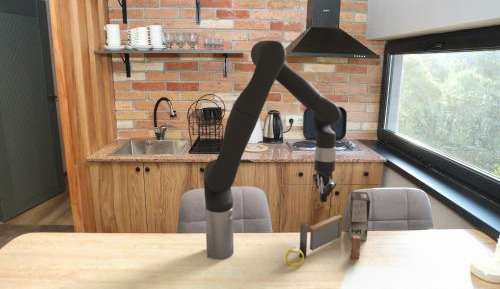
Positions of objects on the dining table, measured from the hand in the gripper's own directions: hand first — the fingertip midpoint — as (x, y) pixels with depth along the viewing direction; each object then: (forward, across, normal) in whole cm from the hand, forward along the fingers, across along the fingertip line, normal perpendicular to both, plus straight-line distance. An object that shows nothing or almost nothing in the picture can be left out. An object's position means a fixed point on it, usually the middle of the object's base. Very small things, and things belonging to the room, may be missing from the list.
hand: (323, 201), depth 132 cm
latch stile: (+13, +19, +1) cm, 23 cm away
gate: (+12, +9, -4) cm, 16 cm away
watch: (+13, +15, -20) cm, 29 cm away
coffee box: (+14, +6, +13) cm, 19 cm away
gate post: (+13, +12, -15) cm, 23 cm away
